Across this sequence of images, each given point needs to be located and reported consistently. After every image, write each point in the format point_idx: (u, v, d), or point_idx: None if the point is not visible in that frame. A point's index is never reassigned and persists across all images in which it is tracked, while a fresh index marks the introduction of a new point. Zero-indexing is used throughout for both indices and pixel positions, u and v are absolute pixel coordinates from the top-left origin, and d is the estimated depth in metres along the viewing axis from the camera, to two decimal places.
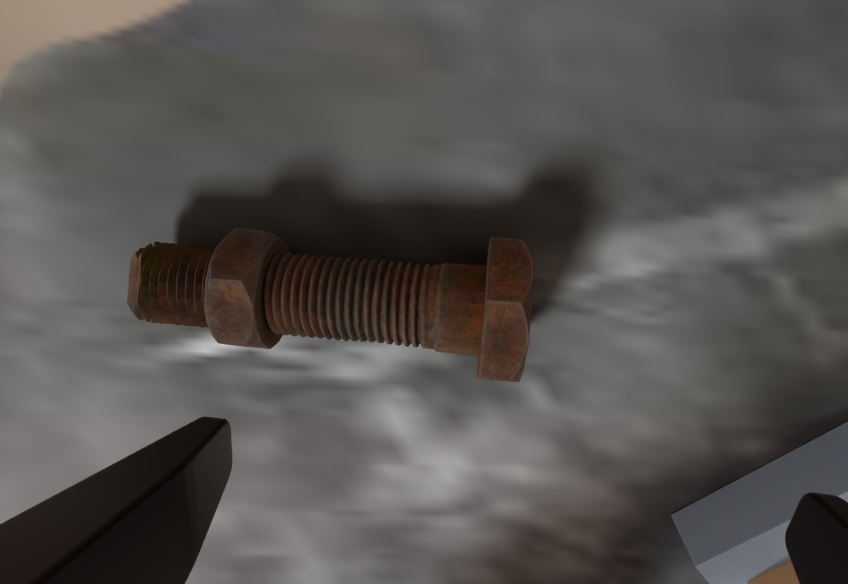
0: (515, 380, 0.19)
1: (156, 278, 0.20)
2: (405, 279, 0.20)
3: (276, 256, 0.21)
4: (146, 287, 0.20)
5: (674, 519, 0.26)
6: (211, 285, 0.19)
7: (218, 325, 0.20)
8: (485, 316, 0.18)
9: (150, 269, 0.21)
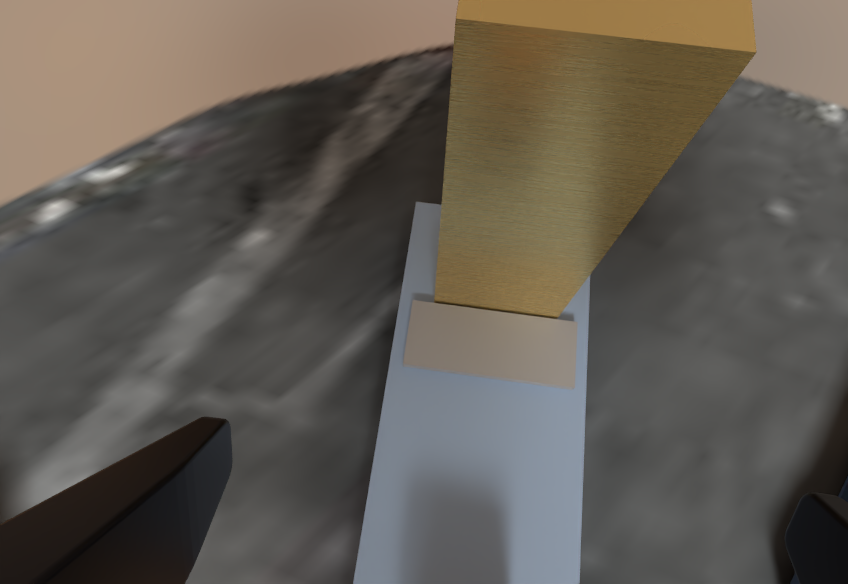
0: None
1: None
2: None
3: None
4: None
5: None
6: None
7: None
8: None
9: None
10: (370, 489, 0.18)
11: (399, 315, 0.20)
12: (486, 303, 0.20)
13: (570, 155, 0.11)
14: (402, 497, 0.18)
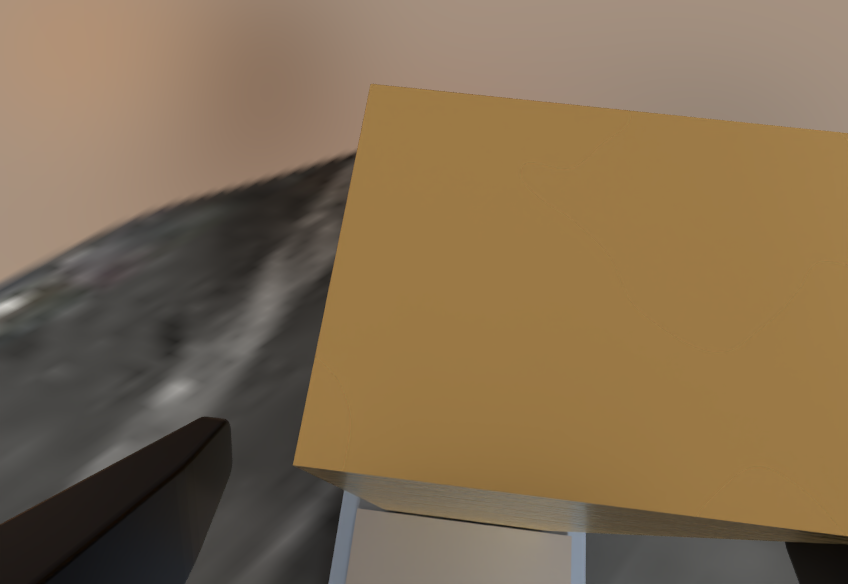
0: None
1: None
2: None
3: None
4: None
5: None
6: None
7: None
8: None
9: None
10: None
11: (340, 526, 0.16)
12: (452, 518, 0.15)
13: (551, 517, 0.07)
14: None
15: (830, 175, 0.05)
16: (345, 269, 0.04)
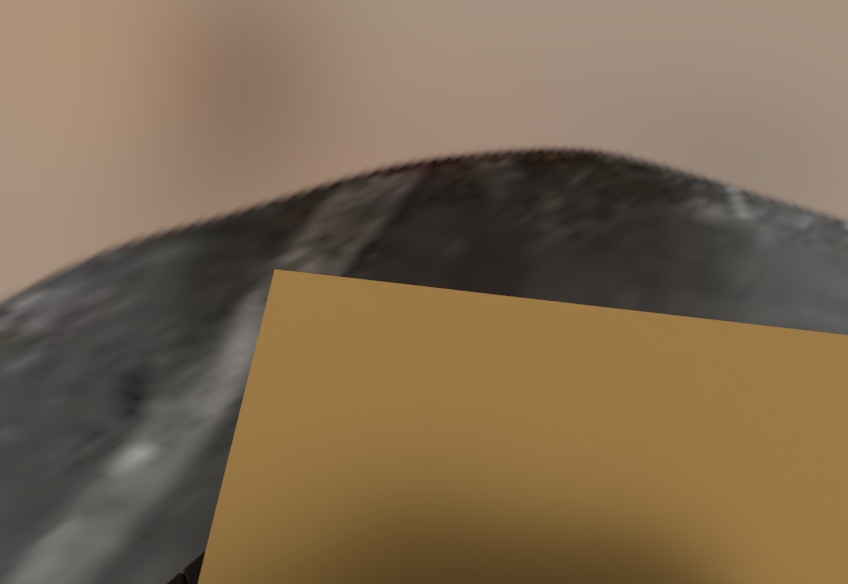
0: None
1: None
2: None
3: None
4: None
5: None
6: None
7: None
8: None
9: None
10: None
11: None
12: None
13: None
14: None
15: None
16: None
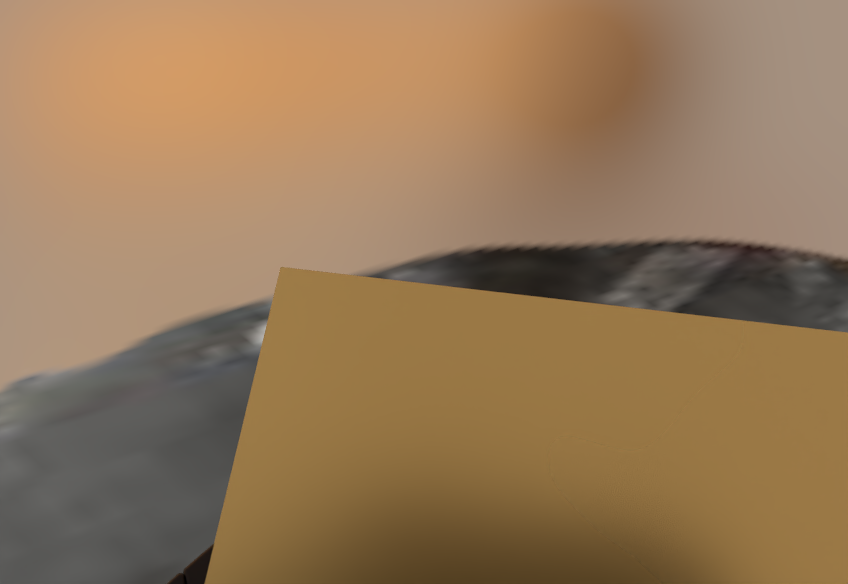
0: None
1: None
2: None
3: None
4: None
5: None
6: None
7: None
8: None
9: None
10: None
11: None
12: None
13: None
14: None
15: None
16: None
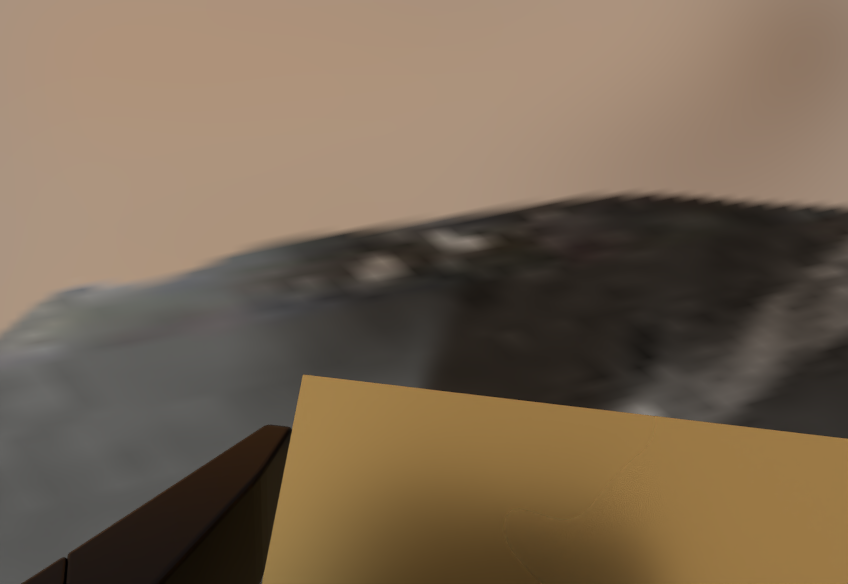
0: None
1: None
2: None
3: None
4: None
5: None
6: None
7: None
8: None
9: None
10: None
11: None
12: None
13: None
14: None
15: None
16: None
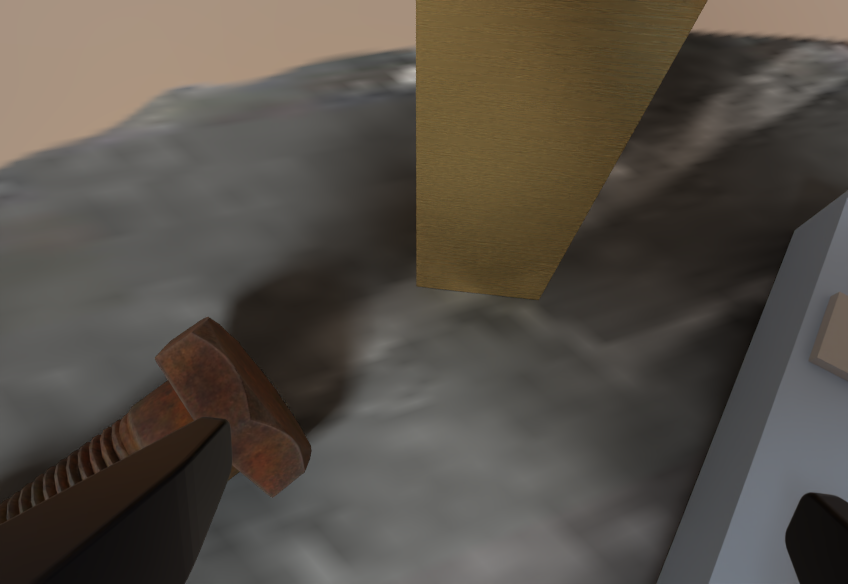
0: (262, 421, 0.14)
1: None
2: None
3: None
4: None
5: None
6: None
7: None
8: (167, 377, 0.14)
9: None
10: (748, 482, 0.15)
11: (812, 303, 0.17)
12: (468, 282, 0.20)
13: (540, 109, 0.11)
14: (784, 507, 0.15)
15: None
16: None
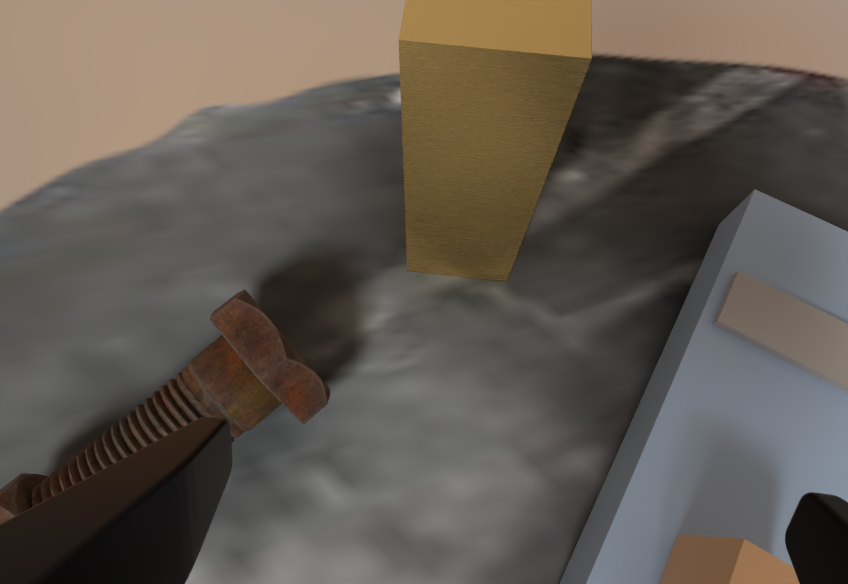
0: (295, 360, 0.19)
1: None
2: (161, 388, 0.20)
3: None
4: None
5: None
6: None
7: None
8: (221, 332, 0.19)
9: None
10: (660, 415, 0.20)
11: (718, 280, 0.22)
12: (449, 266, 0.24)
13: (490, 134, 0.16)
14: (687, 433, 0.19)
15: None
16: None
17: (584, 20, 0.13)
